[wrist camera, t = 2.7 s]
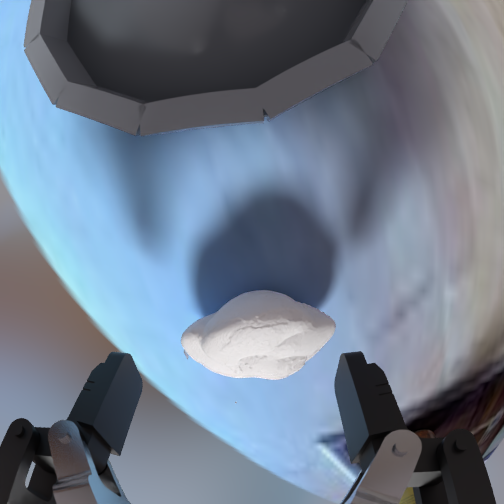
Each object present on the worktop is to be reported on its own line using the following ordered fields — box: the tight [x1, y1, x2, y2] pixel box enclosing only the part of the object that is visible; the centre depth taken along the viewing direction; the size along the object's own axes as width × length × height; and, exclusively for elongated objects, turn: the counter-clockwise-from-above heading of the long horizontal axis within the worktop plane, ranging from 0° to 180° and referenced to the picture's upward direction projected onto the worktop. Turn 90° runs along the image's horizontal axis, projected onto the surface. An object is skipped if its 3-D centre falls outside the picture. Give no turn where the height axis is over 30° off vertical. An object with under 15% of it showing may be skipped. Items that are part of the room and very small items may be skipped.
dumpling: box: [181, 290, 336, 403], centre depth 12 cm, size 7×5×4 cm
